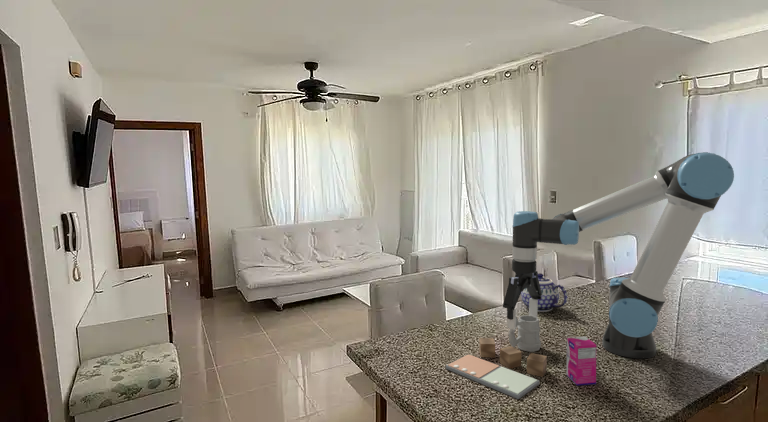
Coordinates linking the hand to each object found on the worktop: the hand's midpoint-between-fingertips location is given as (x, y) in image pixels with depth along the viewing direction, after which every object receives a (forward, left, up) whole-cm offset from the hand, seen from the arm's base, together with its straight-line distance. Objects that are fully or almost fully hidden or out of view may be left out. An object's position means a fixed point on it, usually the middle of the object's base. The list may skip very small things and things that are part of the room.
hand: (522, 323), depth 140 cm
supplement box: (-22, +8, -9) cm, 25 cm away
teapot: (+16, -41, -9) cm, 45 cm away
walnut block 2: (-3, +13, -9) cm, 16 cm away
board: (-3, +23, -9) cm, 25 cm away
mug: (0, 0, -9) cm, 9 cm away
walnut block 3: (-11, +12, -9) cm, 19 cm away
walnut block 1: (+6, +12, -9) cm, 16 cm away
